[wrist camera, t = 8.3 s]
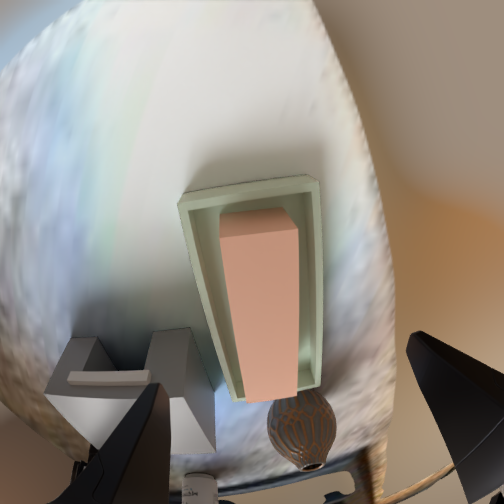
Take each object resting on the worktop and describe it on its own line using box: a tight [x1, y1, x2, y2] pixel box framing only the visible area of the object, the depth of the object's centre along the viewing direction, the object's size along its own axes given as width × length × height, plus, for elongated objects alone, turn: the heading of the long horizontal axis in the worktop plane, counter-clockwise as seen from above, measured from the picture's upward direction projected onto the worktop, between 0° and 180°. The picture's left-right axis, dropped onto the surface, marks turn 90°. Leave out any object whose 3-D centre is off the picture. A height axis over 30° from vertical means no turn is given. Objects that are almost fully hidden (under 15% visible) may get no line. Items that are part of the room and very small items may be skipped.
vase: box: [267, 389, 337, 472], centre depth 24 cm, size 7×7×9 cm
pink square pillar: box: [219, 207, 299, 403], centre depth 19 cm, size 14×4×4 cm, turn 5°
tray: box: [177, 174, 323, 402], centre depth 20 cm, size 18×8×2 cm, turn 8°
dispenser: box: [44, 328, 216, 454], centre depth 20 cm, size 10×12×7 cm
